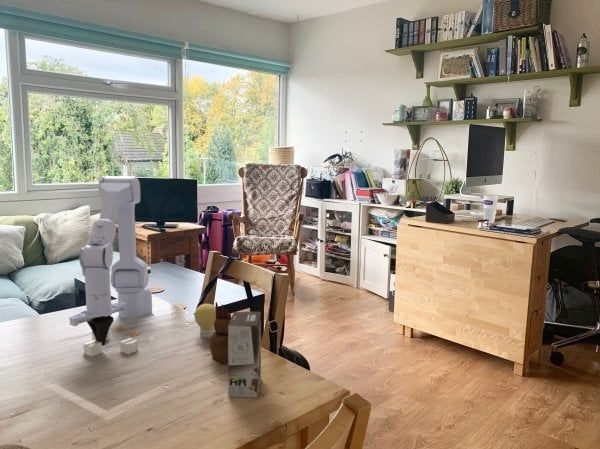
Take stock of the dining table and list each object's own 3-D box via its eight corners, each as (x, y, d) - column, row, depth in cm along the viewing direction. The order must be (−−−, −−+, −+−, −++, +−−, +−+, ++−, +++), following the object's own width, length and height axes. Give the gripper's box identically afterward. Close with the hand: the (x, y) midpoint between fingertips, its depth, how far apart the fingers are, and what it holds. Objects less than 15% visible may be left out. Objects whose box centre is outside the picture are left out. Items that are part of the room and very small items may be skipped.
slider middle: (95, 349, 126) (94, 339, 125) (102, 352, 124) (101, 342, 124) (84, 353, 123) (83, 343, 123) (91, 356, 122) (90, 346, 121)
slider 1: (102, 336, 134) (102, 326, 134) (109, 339, 132) (108, 329, 132) (92, 339, 132) (91, 330, 131) (99, 342, 130) (98, 332, 130)
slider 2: (130, 347, 127) (130, 337, 127) (138, 350, 126) (137, 340, 125) (120, 351, 125) (120, 341, 124) (128, 354, 123) (127, 344, 123)
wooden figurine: (205, 362, 122) (204, 303, 120) (220, 353, 128) (219, 297, 125) (228, 368, 119) (227, 308, 117) (242, 359, 124) (241, 301, 122)
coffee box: (257, 398, 106) (257, 325, 103) (227, 397, 106) (226, 325, 103) (261, 378, 115) (262, 311, 112) (233, 377, 115) (233, 310, 112)
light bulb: (213, 345, 133) (213, 309, 131) (191, 342, 134) (190, 307, 132) (222, 336, 139) (221, 301, 137) (200, 334, 140) (199, 299, 138)
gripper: (80, 303, 115) (83, 358, 117) (133, 288, 127) (135, 339, 129) (63, 297, 119) (66, 351, 121) (116, 283, 131) (118, 333, 133)
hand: (101, 344), depth 125 cm, fingers closed
